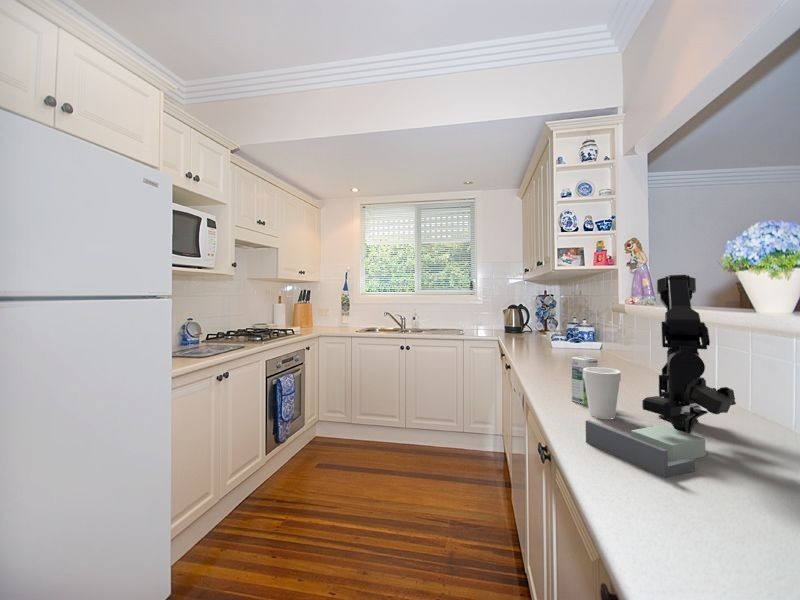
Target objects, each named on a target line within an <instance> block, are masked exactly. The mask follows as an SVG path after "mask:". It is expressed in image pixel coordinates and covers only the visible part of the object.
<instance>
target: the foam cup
mask: <svg viewBox="0 0 800 600" xmlns="http://www.w3.org/2000/svg"><path fill="white" fill-rule="evenodd" d="M583 378H584V381H585V387H586V394H587V400H588V405H587V406H588V412H589V415H590V416H591V417H593V416H594V417H593V418H595V417H597V418H596V419H600V418H603V419H602V420H612V419H611V418H614V419H615V417H616V410H617V405H618V398H619V397H618V396H619V390H620V383H621V380H622V379H621V378H622V376H621V370H618V369H616V368H615V369H614V368H608V367H599V366H598V367H590V368H584V369H583Z"/></svg>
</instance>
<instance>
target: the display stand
mask: <svg viewBox="0 0 800 600" xmlns="http://www.w3.org/2000/svg"><path fill="white" fill-rule="evenodd" d="M585 443H587V444H589V445H591V446H594V447H596V448H598V449H600V450H603V451H605V452H607V453H609V454H611V455H614V456H615V457H618V458H620V459H622V460H624V461H626V462H629V463H631V464H633V465H635V466H637V467H639V468H642V469H644V470H646V471H648V472H650V473H653V474H654V475H657V476H659V477H662V478H664V479H665V478H669V477H670V478H671V477H674V476H678V475H681V474H686V473H690V472H694V471H696V459H691V458H687V459H683V460H678V461H674V462H668V450H665V449H663V448H660V447H657V446H655V445H652V444H650V443H647V442H644V441H642V440H639V439H637V438H634V437H631V435H628V434H626V433H623V432H621V431H618V430H617V429H615V428H610V427H608V426H605V425H603V424H600V423H598V422H594V421H593V420H590V419H587V420H585Z"/></svg>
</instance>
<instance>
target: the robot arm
mask: <svg viewBox="0 0 800 600" xmlns="http://www.w3.org/2000/svg"><path fill="white" fill-rule="evenodd" d="M696 285H697V280H696V278H695V277H692V276H690V275H687V274H671V275H667V276H665V277H662V278H658V279H657V280H656V294H658V295H659V298H660V299H659V300H660V302H661V304H662V305H663V306H664V307H665V309H666V312H665V313H664V321H661V343H662V344H661V345H662V348H667V351H666V363H665V364H664V366H662V368H661V374H658V396H657V395H655V396H648V397H647V396H646V397H645V398H643V400H641V401H642V402H641V403H642V410H645V411H646V412H647V411H648V412H651V413H654V414H657V415H658V418H660V419H663V420H667V421H670V423H671V425H672V428H673V429H677V430H680V431H683V432H686V433H689V434H692V432H693V429H694V426H695V423H699V419H698V418H700V417H702V416H704V415H706V414H708V413H710V414H713V415H720V414H724V413H725V414H728V412H729V410H730V408H731V406H734V405H737V402H736V398H735V393H734V392H735V391H734V389H733V388H729V387H727V386H724V387H723V386H722V387H720V388H716V387H709V385H707V382H706V381H707V380H706V379H705V377H702V376H703V375H704V373H705V370H706V365H705V363H704V360H703V359H702V358H701V357H700V353H699V351H698V350H708V346H710V343H711V341H710V336H709V335H710V334H709V327H707V326H706V323H705V322H704V321H701V316H700V313H699V312H698V311H695V310H694V309H692V305H691V303H692V302H691V300H692V299H693V294H695V293H697V286H696ZM702 408H703V409H705V410H703V409H702Z"/></svg>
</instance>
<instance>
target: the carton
mask: <svg viewBox="0 0 800 600" xmlns="http://www.w3.org/2000/svg"><path fill="white" fill-rule="evenodd" d="M630 436H631V437H634V438H637V439H639V440H642V441H644V442H647V443H650V444H652V445H655V446H657V447H660V448H663V449H665V450H668V463H669V462H674V461H678V460H683V459H687V458H691V459H693V458H694V459H698V458H701V457H702V456H703V457H706V456H707V454H706V452H707V451H706V449H707V448H706V438H705V437H703V436H702V437H701V436H698V435H695V434H692V433H691V434H689V433H686V432H683V431H680V430H677V429H674V427H671V426H666V425H663V424H659V425H653V426H648V427H642V428H638V429H632V430H630ZM697 457H698V458H697ZM703 457H702V458H703ZM694 459H693V460H694Z"/></svg>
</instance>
